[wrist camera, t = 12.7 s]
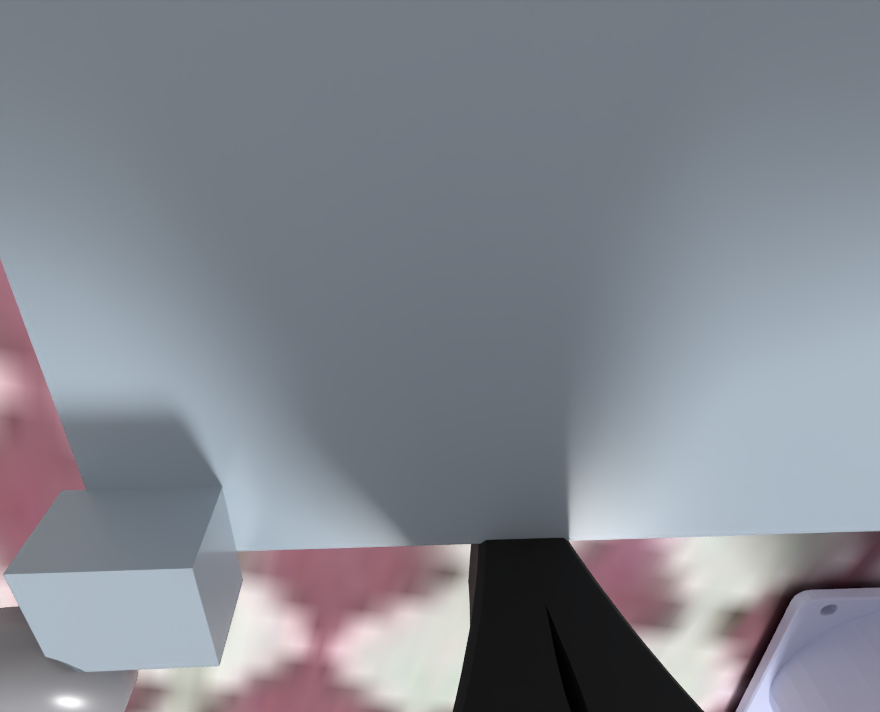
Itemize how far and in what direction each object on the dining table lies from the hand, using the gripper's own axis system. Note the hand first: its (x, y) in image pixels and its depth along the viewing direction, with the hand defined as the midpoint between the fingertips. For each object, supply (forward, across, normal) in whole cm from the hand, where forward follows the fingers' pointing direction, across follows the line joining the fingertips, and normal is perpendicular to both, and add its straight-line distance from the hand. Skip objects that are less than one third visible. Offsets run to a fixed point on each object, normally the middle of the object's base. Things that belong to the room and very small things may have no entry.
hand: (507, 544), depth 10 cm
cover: (+1, 0, -4) cm, 4 cm away
